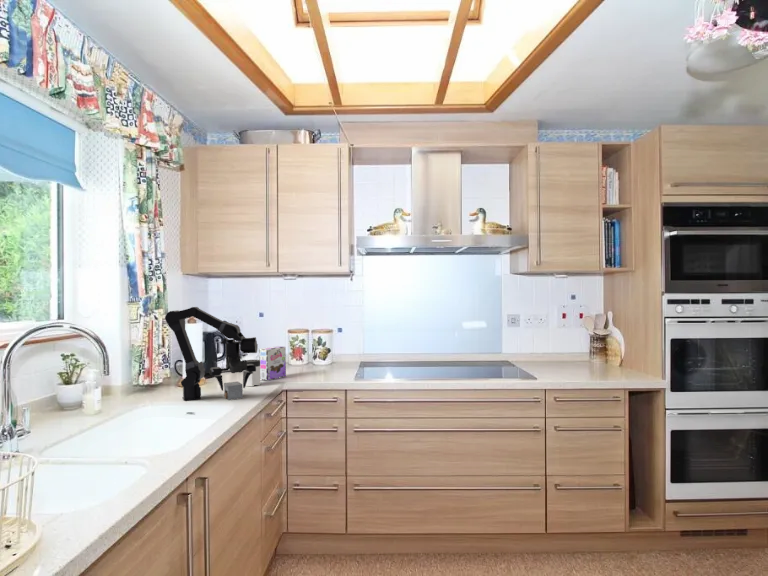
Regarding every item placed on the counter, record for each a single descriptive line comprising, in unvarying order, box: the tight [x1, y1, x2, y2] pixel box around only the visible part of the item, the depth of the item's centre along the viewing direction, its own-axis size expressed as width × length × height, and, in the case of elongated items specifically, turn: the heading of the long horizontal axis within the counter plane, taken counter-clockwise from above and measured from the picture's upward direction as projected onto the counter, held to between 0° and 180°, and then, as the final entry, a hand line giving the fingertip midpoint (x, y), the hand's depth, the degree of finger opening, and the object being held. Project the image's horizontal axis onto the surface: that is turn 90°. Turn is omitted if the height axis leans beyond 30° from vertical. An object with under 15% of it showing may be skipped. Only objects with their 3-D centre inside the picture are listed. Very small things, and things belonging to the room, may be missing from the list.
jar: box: [244, 359, 262, 387], centre depth 225 cm, size 9×8×12 cm
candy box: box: [258, 345, 287, 381], centre depth 242 cm, size 14×6×16 cm, turn 147°
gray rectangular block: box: [223, 381, 244, 401], centre depth 199 cm, size 6×8×6 cm
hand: (233, 389), depth 199 cm, fingers open, 9 cm apart
